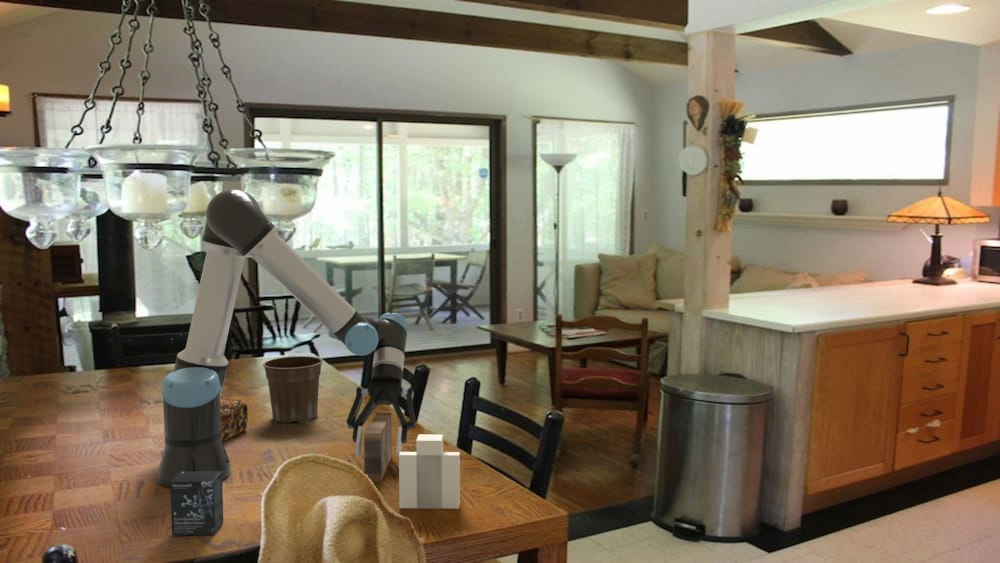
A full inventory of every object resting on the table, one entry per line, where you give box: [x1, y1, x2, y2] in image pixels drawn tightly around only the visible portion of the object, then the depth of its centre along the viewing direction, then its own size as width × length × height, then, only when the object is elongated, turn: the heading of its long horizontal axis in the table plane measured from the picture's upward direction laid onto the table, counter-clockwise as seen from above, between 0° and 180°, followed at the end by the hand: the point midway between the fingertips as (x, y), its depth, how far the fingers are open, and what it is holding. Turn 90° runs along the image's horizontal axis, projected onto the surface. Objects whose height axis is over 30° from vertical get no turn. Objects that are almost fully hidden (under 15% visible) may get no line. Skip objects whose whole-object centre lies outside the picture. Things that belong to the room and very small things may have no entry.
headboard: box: [398, 433, 461, 510], centre depth 158 cm, size 8×12×14 cm, turn 89°
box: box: [169, 471, 224, 537], centre depth 144 cm, size 8×6×11 cm
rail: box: [363, 412, 393, 483], centre depth 177 cm, size 16×4×11 cm, turn 179°
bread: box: [220, 396, 249, 442], centre depth 199 cm, size 19×11×10 cm, turn 161°
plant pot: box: [262, 355, 324, 424], centre depth 217 cm, size 16×16×16 cm
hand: (377, 454), depth 175 cm, fingers open, 9 cm apart
